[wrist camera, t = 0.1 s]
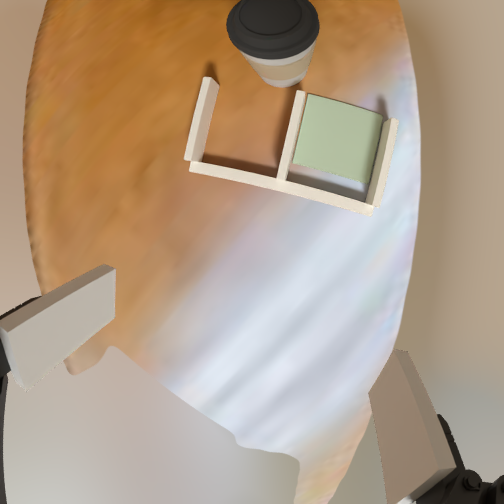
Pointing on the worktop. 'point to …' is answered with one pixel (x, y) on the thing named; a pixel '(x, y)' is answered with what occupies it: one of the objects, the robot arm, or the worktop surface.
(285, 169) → the e-shaped divided frame
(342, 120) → the pad
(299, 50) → the coffee cup
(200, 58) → the worktop surface
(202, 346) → the worktop surface
